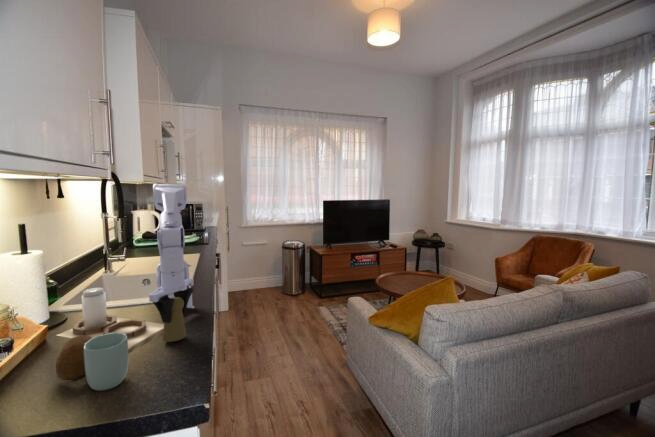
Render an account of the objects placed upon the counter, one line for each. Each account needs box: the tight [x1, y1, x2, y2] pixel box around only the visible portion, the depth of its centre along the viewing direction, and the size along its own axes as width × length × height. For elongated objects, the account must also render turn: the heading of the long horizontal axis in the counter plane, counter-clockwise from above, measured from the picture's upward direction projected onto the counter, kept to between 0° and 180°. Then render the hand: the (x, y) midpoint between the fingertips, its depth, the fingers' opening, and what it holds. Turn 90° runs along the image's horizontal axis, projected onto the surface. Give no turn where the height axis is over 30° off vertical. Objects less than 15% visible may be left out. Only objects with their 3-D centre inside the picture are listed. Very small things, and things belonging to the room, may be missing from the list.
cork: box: [161, 297, 187, 343], centre depth 86 cm, size 6×6×11 cm
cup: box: [83, 333, 130, 392], centre depth 67 cm, size 8×8×10 cm
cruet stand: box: [55, 314, 164, 354], centre depth 89 cm, size 14×25×3 cm, turn 76°
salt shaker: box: [81, 287, 108, 329], centre depth 90 cm, size 6×6×11 cm
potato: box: [55, 335, 93, 381], centre depth 71 cm, size 8×12×9 cm
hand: (174, 317), depth 86 cm, fingers closed on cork, 5 cm apart
